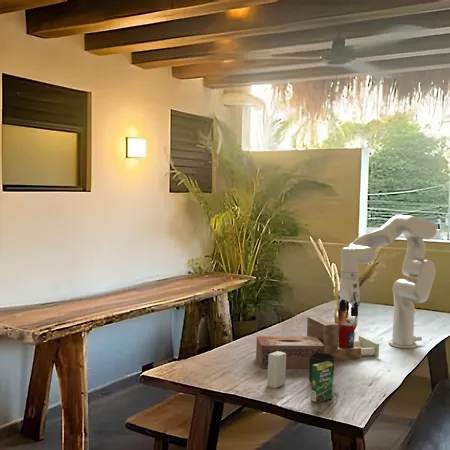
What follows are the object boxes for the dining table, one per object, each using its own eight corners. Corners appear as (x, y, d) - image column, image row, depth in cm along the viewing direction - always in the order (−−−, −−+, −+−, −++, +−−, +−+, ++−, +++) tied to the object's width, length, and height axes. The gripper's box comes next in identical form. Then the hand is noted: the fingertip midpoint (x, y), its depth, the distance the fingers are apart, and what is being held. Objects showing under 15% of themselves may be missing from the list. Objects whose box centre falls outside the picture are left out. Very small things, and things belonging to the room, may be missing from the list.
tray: (362, 347, 269) (362, 335, 268) (380, 356, 255) (381, 343, 254) (326, 350, 262) (326, 337, 262) (343, 359, 248) (343, 346, 248)
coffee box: (315, 404, 197) (317, 366, 196) (309, 401, 200) (311, 363, 199) (332, 399, 202) (334, 362, 201) (326, 397, 204) (328, 360, 203)
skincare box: (276, 381, 219) (277, 350, 218) (285, 384, 216) (287, 352, 215) (266, 385, 214) (267, 353, 213) (276, 388, 211) (277, 356, 210)
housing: (341, 349, 266) (343, 315, 265) (360, 359, 251) (362, 323, 250) (306, 352, 260) (307, 316, 259) (323, 362, 245) (324, 325, 244)
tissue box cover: (260, 369, 234) (261, 345, 233) (256, 359, 248) (256, 336, 247) (323, 370, 236) (324, 345, 235) (315, 359, 250) (316, 336, 249)
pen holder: (338, 384, 218) (339, 358, 218) (320, 388, 213) (321, 361, 213) (321, 376, 226) (322, 351, 226) (303, 380, 221) (304, 354, 221)
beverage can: (353, 353, 254) (355, 326, 253) (338, 352, 255) (339, 325, 254) (353, 349, 260) (354, 322, 259) (338, 347, 262) (339, 321, 261)
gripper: (367, 278, 248) (366, 317, 249) (346, 271, 264) (345, 308, 266) (352, 278, 246) (351, 318, 247) (332, 272, 262) (331, 309, 263)
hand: (348, 313), depth 256 cm, fingers open, 9 cm apart
